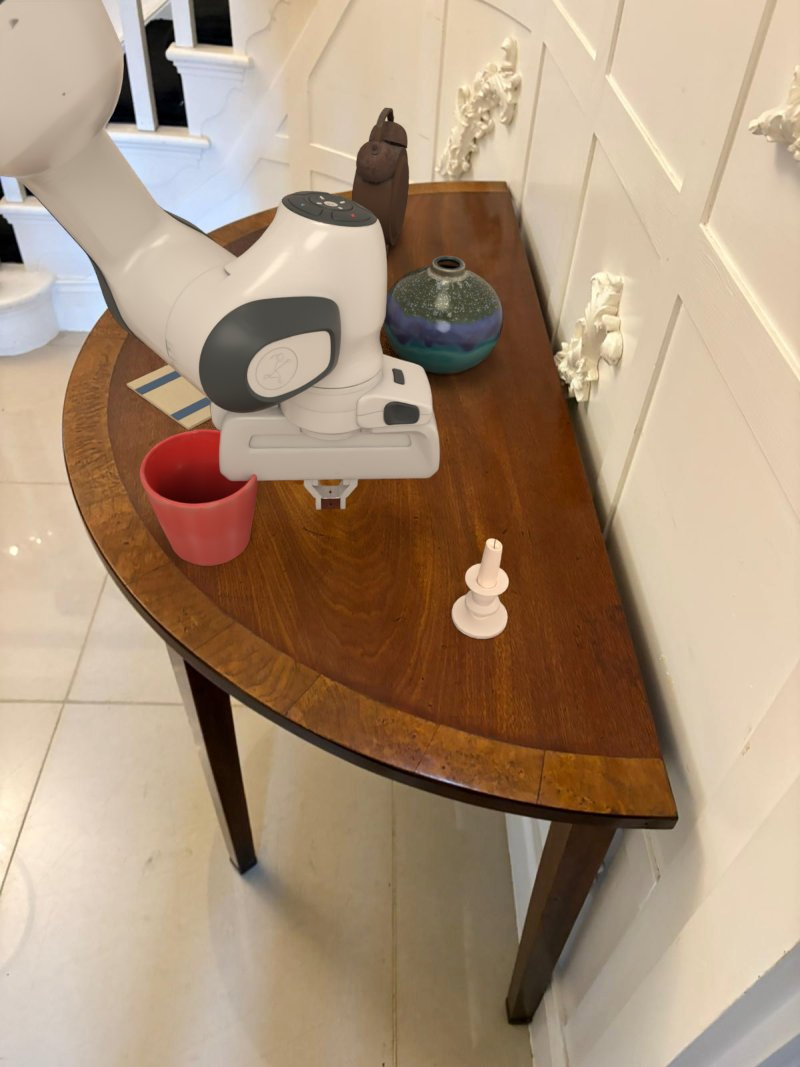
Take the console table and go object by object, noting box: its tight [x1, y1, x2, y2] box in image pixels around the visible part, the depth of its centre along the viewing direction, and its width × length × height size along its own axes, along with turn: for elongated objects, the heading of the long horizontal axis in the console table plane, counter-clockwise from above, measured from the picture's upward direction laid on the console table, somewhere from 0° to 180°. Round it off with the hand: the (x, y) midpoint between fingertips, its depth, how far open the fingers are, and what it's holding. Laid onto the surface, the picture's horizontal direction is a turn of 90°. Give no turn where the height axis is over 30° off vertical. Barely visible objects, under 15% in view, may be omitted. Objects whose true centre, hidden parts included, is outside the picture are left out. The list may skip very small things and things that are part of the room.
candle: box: [451, 538, 510, 640], centre depth 70 cm, size 5×5×10 cm
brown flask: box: [351, 107, 410, 257], centre depth 119 cm, size 15×7×20 cm, turn 169°
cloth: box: [126, 364, 211, 431], centre depth 98 cm, size 20×12×1 cm, turn 138°
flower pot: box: [139, 428, 259, 567], centre depth 75 cm, size 11×11×10 cm
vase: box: [382, 255, 504, 375], centre depth 99 cm, size 15×15×13 cm
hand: (330, 505), depth 77 cm, fingers closed
